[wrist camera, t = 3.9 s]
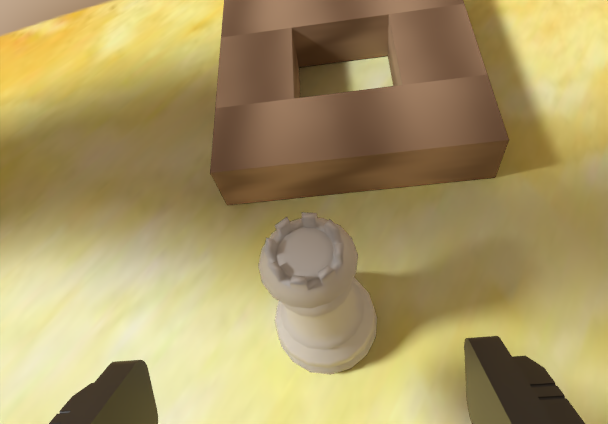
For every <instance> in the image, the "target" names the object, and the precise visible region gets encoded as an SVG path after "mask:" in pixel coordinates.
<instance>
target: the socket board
mask: <svg viewBox="0 0 608 424" xmlns="http://www.w3.org/2000/svg"><path fill="white" fill-rule="evenodd" d="M381 56H388V59H389V64H390V70H391V75H392V81H393V86H391V87H383V88H375V89H367V90H359V91H351V92H343V93H335V94H327V95H318V96H310V97H302V98H300V80H299V67H305V66H312V65H320V64H328V63H335V62H343V61H351V60H358V59H366V58H374V57H381ZM508 141H509V139H508V136H507V133H506V130H505V127H504V123H503V120H502V117H501V114H500V111H499V108H498V105H497V102H496V99H495V96H494V93H493V90H492V87H491V84H490V81H489V78H488V75H487V72H486V69H485V66H484V63H483V60H482V56H481V53H480V50H479V47H478V44H477V41H476V38H475V35H474V32H473V29H472V26H471V23H470V20H469V17H468V14H467V11H466V8H465V5H464V2H463V0H224V9H223V21H222V33H221V46H220V58H219V70H218V83H217V95H216V107H215V120H214V132H213V144H212V157H211V169H210V174H211V175H212V177H213V179H214V181H215V183H216V185H217V187H218V189H219V191H220V193H221V195H222V196H223V198H224V200H225V202H226V204H227V205H233V204H243V203H252V202H262V201H272V200H281V199H291V198H301V197H310V196H320V195H330V194H339V193H349V192H359V191H368V190H378V189H388V188H397V187H407V186H417V185H426V184H436V183H446V182H455V181H465V180H475V179H484V178H494V177H496V174H497V171H498V169H499V166H500V163H501V160H502V158H503V155H504V152H505V149H506V147H507V144H508Z"/></svg>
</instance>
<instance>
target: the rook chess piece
mask: <svg viewBox="0 0 608 424" xmlns="http://www.w3.org/2000/svg"><path fill="white" fill-rule="evenodd" d="M275 228H276V231H274V232H273V233H272V234H271V235H270V237H269V238H266V242H265V244H264V246H263V247H262V250H261V255H260V260H259V265H258V266H259V271H260V275H261V280H262V283H263V285H264V286H265V287H266V289H267V290H268V291H269V292H270V294H271V295H272V296H273V298H275V299H277V300H279V301H278V306H277V312H276V317H275V324H276V328H277V332H278V337H279V340H280V343H281V346H282V348H283V349H284V350H285V352H286V353H287V354H288V356H289V357H290V359H291V360H292V361H293V362H294V363H296V364H297V365H299V366H301V367H303V368H304V369H306V370H308V371H310V372H315V373H323V374H334V373H337V372H340V371H344V370H347V369H350V368H352V367H353V366H354V365H355V364H357V363H358V362H359V361H360V360H361V359H363V358H364V357H365V356H366V355H367V353H368V352H369V350H370V348H371V346H372V344H373V342H374V340H375V338H376V327H377V316H376V313H375V309H374V306H373V303H372V300H371V297H370V295H369V293H368V291H367V290H366V289H365V288H364V287H363V286H362V285H361V284H360V283H359V282H358V280H357V279H356V278H354V276H355V274H356V270H357V259H358V254H357V251H356V248H355V245H354V243H353V240H352V238H351V237H350V236H349V235H348V234H347V232H346V231H345V230H344V229H343V228H342V227H341V226H340V225H338V224H335V223H333V222H332V221H331V220H330V219H329V220H326V219H324V218H318V217H317V213H305V212H302V218H300V219H297V220H293V221H289V220H288V218H287V217H286V218H284V219H283V220H281V221H280V222H279V223H277V224H276V225H275Z"/></svg>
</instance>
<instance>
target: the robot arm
mask: <svg viewBox="0 0 608 424" xmlns="http://www.w3.org/2000/svg"><path fill="white" fill-rule="evenodd" d="M464 350H465V373H466V396H467V404H468V410H469V415H470V419H471V422H472V424H585V423H584V422H583V420H582V419H581V418H580V416H579V415H578V414H577V412H576V411H575V409H574V408H573V407H572V405H571V404H570V403H569V401H568V400H567V399H565V397H564V394H563V393H562V392H561V390H560V389H559V388H558V386H556V385H555V382H554V381H553V379H552V378H551V377H550V375H549V374H548V373H547V371H546V370H545V368H543V367H542V366H540V365H539V364H537V363H536V362H534V361H533V360H531V359H530V358H528V357H526V356H516V357H512V356H511V355H510V353H509V352H508V350H507V348H506V347H505V345H504V344H503V342H502V341H501V339H500V338H499V337H498V336H491V337H477V338H466V339H465V344H464ZM49 424H158V413H157V408H156V403H155V399H154V394H153V390H152V385H151V381H150V376H149V372H148V368H147V365H146V363H145V362H144V361H143V360H133V361H118V362H112V363H111V364H110V365H109V366H108V367H107V368H106V369H105V371H104V372H103V373H102V374H101V375H100V377H99V378H98V379H97V380H96V381H95V383H91V384H89V385H88V386H87V387H85V388H84V389H82V390H81V391H80V392H78V393H77V394H75V395H74V396H72V398H71V399H70V400H69V401H68V402H67V403H66V404H65V406H64V407H63V408H62V409H61V410H60V414H57V415H56V416H55V417H54V418H53V419H52V421H51V422H50V423H49Z"/></svg>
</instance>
